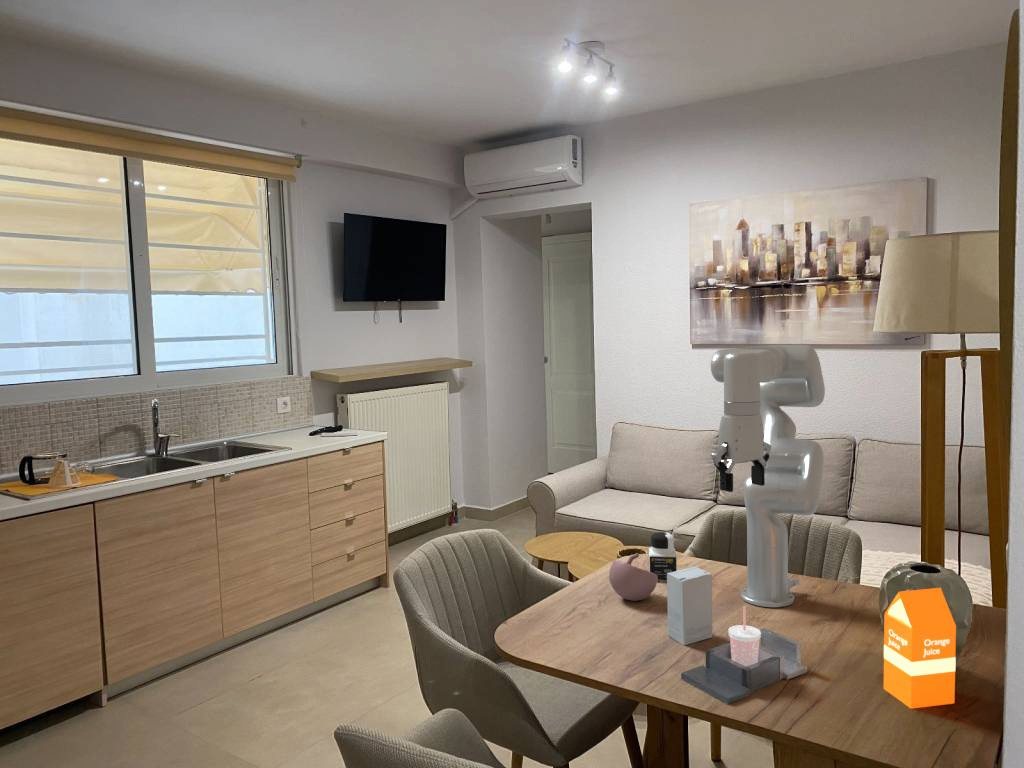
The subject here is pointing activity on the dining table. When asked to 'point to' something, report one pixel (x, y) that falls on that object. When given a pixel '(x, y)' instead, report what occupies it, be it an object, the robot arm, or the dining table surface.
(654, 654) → the dining table surface
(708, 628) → the skincare box
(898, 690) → the orange juice
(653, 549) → the medicine bottle
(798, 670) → the gray u-channel trough
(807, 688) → the dining table surface
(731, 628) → the beverage cup
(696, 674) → the fixed leaf
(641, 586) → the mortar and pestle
